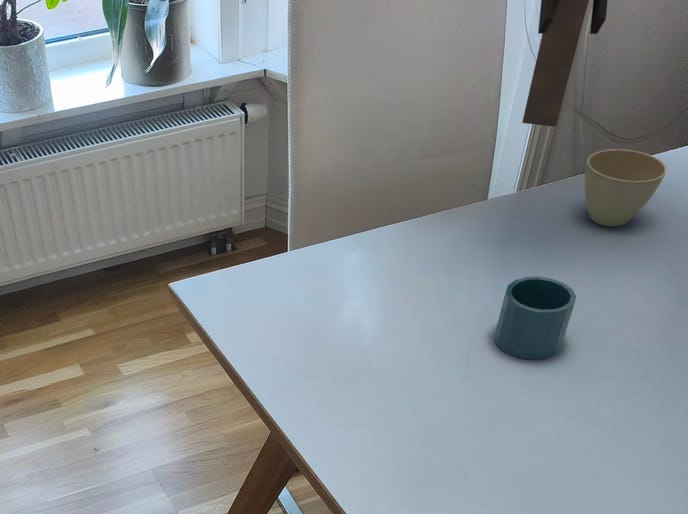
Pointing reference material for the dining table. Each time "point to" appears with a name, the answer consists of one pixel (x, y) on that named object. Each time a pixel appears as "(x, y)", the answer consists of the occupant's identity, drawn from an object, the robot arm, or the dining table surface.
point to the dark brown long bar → (555, 63)
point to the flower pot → (620, 184)
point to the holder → (534, 317)
